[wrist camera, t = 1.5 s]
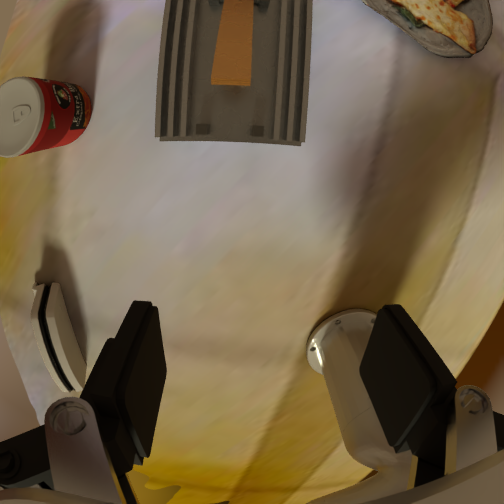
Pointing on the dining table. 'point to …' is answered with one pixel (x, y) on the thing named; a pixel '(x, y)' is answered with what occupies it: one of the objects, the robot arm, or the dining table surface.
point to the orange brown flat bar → (234, 44)
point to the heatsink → (234, 96)
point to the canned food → (40, 115)
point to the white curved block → (57, 338)
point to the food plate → (441, 23)
